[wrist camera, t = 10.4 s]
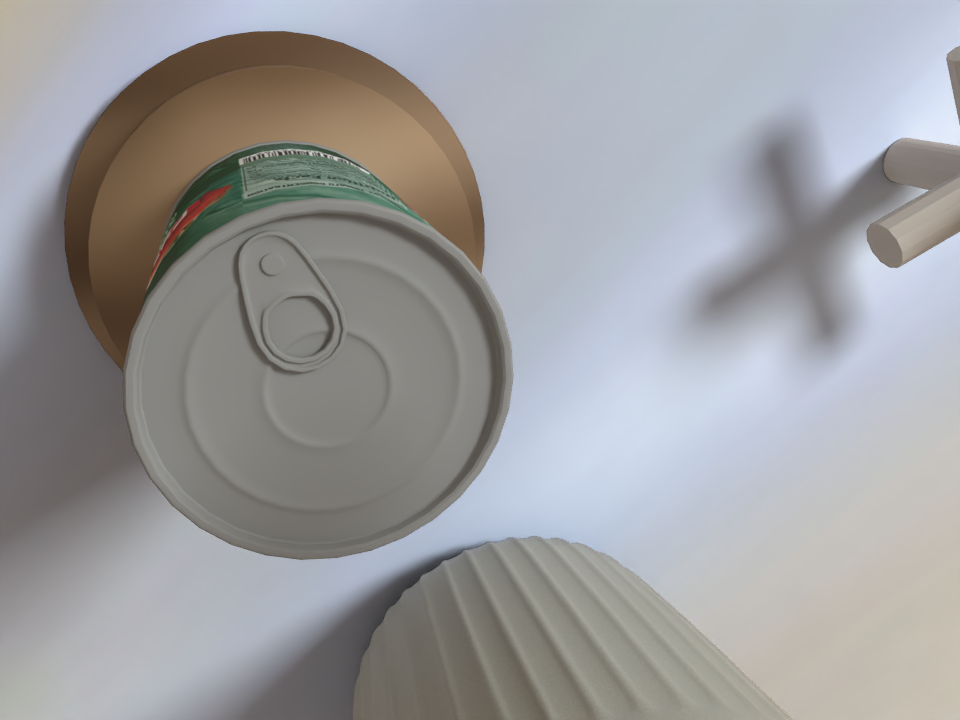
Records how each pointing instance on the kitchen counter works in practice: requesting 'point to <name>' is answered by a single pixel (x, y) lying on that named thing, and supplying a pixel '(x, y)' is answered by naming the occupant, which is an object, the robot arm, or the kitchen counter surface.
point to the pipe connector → (935, 214)
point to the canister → (545, 645)
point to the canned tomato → (312, 358)
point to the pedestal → (240, 123)
